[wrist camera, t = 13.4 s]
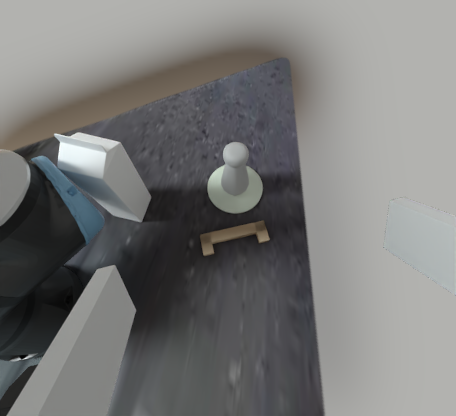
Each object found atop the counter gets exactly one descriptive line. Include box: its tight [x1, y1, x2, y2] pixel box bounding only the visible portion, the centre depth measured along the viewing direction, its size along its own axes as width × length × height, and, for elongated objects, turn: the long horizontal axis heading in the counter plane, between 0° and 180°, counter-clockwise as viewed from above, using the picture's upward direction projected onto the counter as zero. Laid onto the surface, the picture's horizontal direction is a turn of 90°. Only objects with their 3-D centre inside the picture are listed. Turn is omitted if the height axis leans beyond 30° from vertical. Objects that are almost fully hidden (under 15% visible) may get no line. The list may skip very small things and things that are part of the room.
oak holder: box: [200, 220, 270, 256], centre depth 43 cm, size 4×13×2 cm, turn 103°
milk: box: [54, 132, 151, 222], centre depth 36 cm, size 6×6×22 cm
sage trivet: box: [208, 165, 263, 214], centre depth 48 cm, size 12×12×1 cm
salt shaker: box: [221, 142, 249, 196], centre depth 42 cm, size 6×6×13 cm
